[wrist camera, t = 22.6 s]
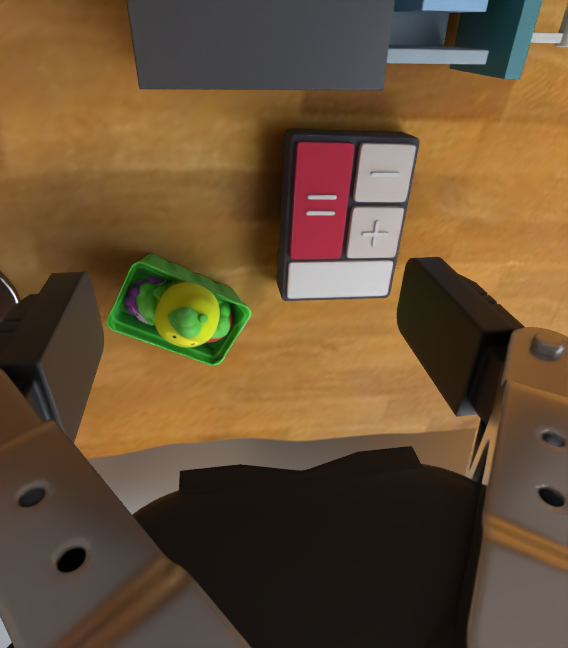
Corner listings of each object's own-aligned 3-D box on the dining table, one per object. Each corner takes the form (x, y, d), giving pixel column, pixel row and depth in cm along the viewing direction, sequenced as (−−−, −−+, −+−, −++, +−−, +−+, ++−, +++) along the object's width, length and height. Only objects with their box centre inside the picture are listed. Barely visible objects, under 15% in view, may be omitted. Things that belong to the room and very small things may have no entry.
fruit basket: (111, 299, 44) (88, 373, 34) (146, 223, 40) (130, 284, 31) (216, 338, 48) (220, 413, 39) (255, 273, 45) (270, 339, 35)
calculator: (425, 139, 36) (392, 302, 44) (404, 131, 40) (377, 282, 47) (292, 135, 34) (282, 305, 42) (283, 127, 38) (276, 285, 45)
